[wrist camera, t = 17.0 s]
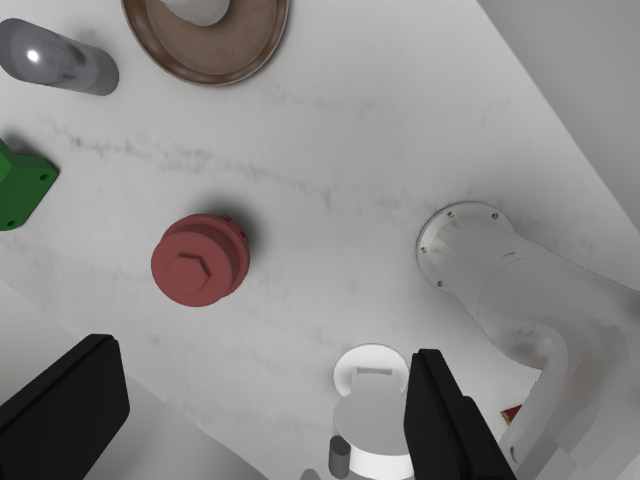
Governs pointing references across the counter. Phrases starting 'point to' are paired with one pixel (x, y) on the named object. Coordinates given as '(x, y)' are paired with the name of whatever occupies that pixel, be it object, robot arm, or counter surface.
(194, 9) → the white ribbed cylinder
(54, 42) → the metal pillar
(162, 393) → the counter surface
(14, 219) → the clamp
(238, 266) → the mechanical component
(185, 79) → the plant saucer
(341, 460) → the panda figurine
